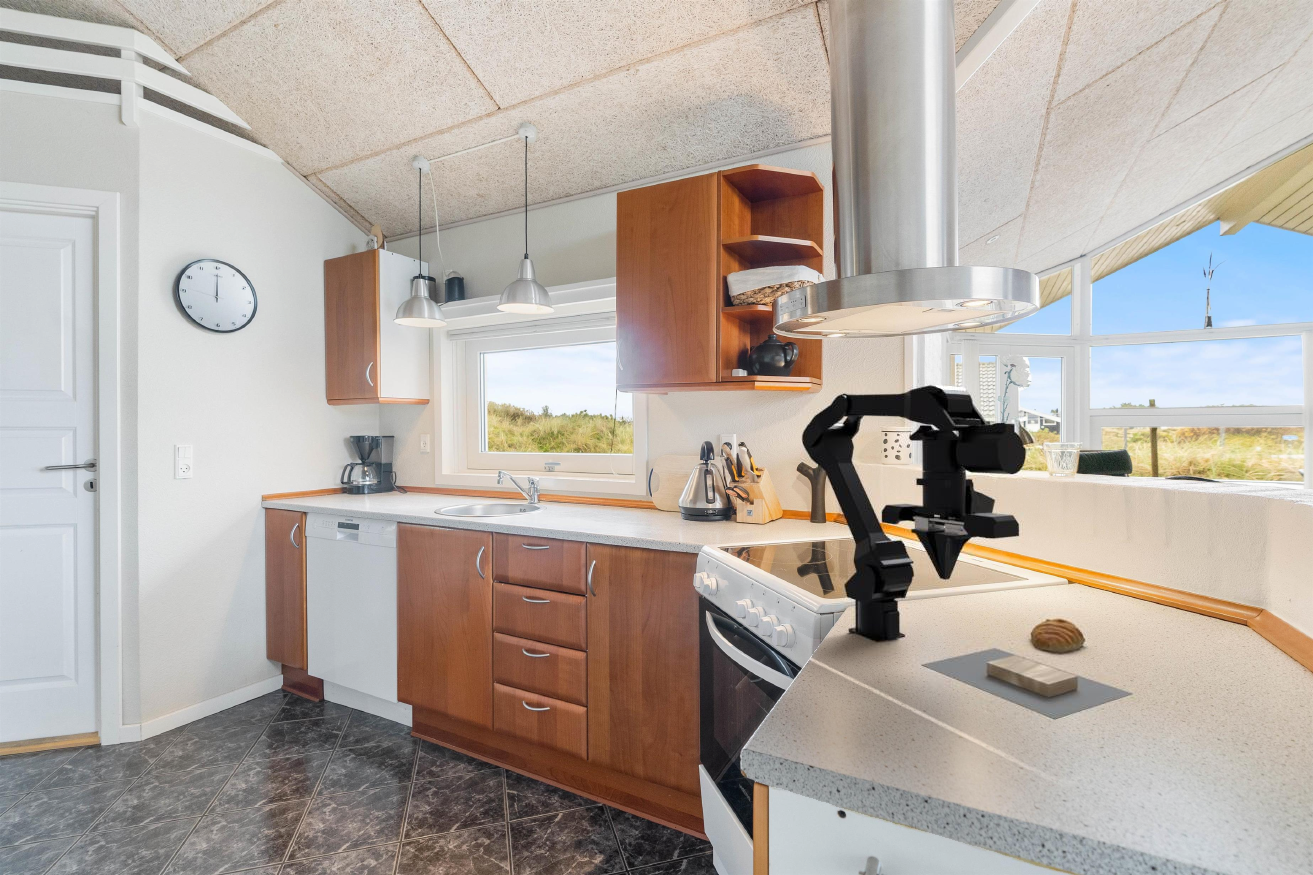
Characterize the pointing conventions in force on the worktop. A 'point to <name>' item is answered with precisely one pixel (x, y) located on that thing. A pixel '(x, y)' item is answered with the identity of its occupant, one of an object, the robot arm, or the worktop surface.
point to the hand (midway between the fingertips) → (944, 578)
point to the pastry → (1057, 636)
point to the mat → (975, 674)
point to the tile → (1032, 676)
